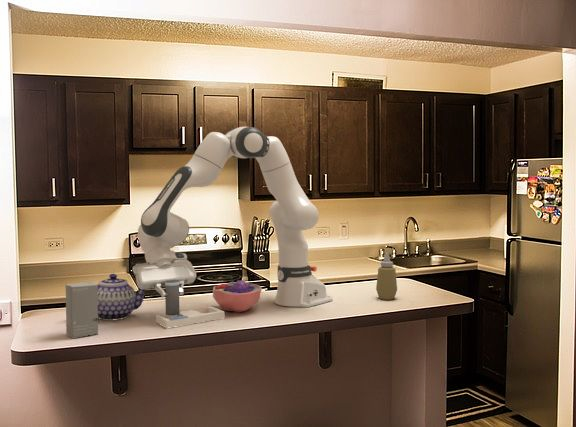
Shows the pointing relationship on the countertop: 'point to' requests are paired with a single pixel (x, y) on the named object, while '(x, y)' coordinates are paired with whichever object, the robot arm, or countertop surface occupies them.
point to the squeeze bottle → (386, 279)
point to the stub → (172, 297)
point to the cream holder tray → (190, 317)
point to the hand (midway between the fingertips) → (173, 295)
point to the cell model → (237, 295)
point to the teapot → (117, 298)
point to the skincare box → (81, 309)
